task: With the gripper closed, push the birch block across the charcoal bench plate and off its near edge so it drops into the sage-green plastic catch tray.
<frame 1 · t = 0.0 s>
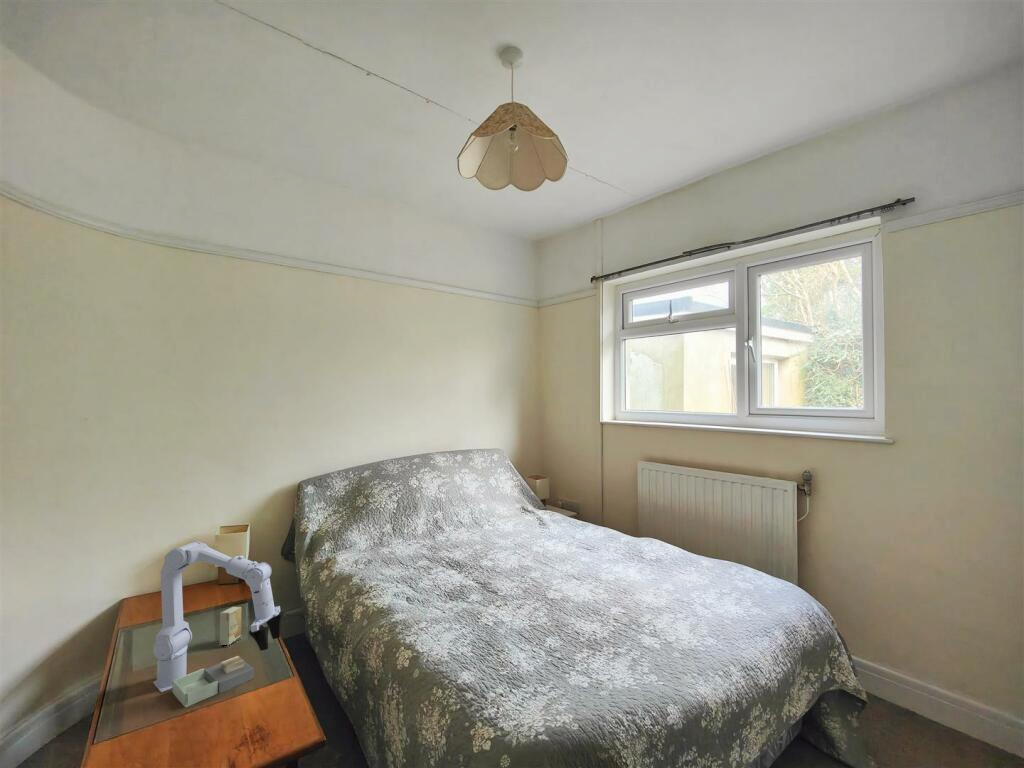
hand: (270, 643, 148), 11 cm above the table, tool pointing down, fingers open, 7 cm apart
skincare box: (230, 643, 173), on the table
catch tray: (194, 692, 140), on the table
birch block: (232, 664, 148), point 4 cm above the table, touching bench plate
bench plate: (229, 678, 147), on the table
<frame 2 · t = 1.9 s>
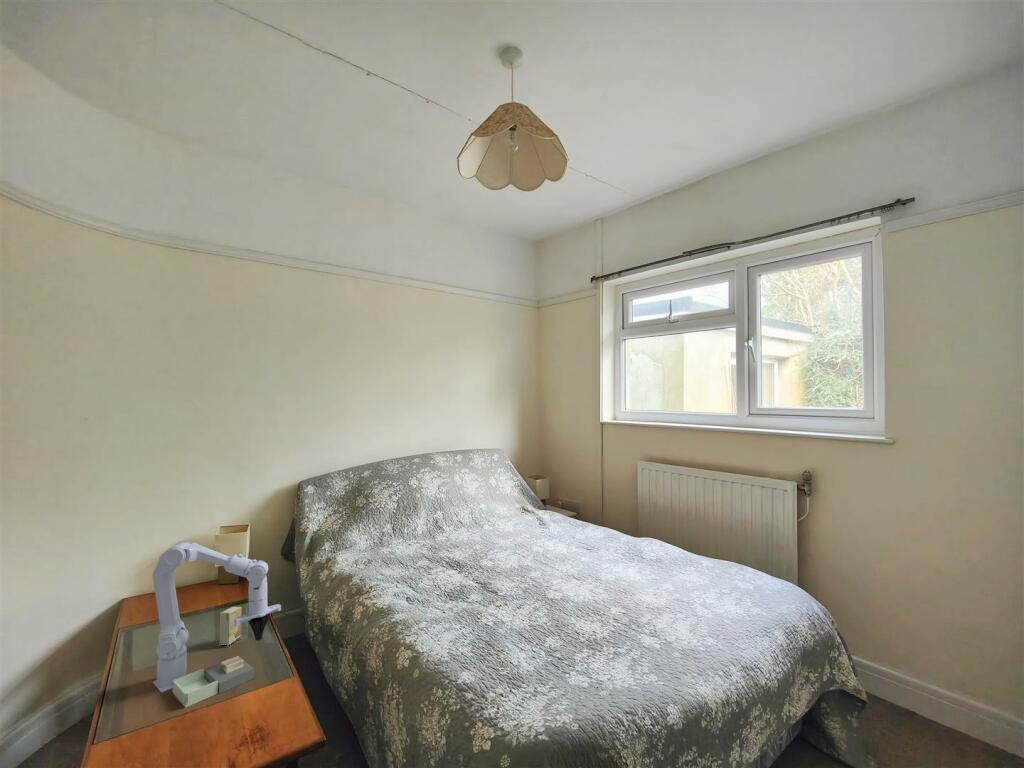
hand: (258, 639, 155), 9 cm above the table, tool pointing down, fingers closed
nothing on the table moved.
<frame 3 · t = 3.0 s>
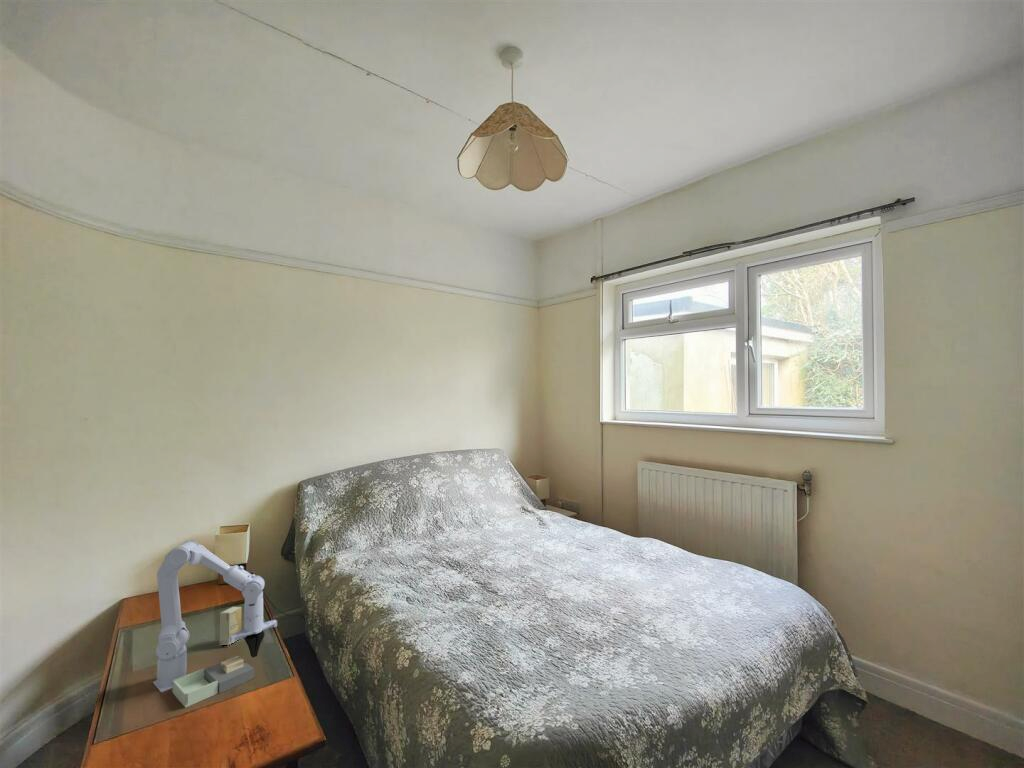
hand: (254, 655, 154), 4 cm above the table, tool pointing down, fingers closed
nothing on the table moved.
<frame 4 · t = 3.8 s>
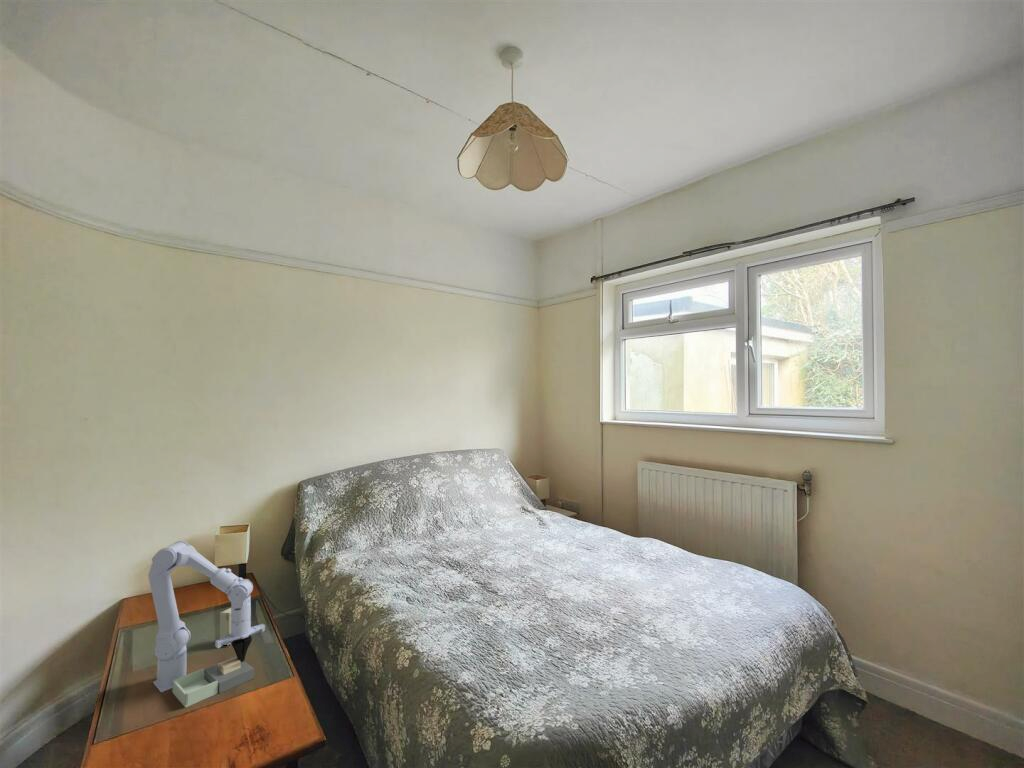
hand: (241, 661, 150), 4 cm above the table, tool pointing down, fingers closed
nothing on the table moved.
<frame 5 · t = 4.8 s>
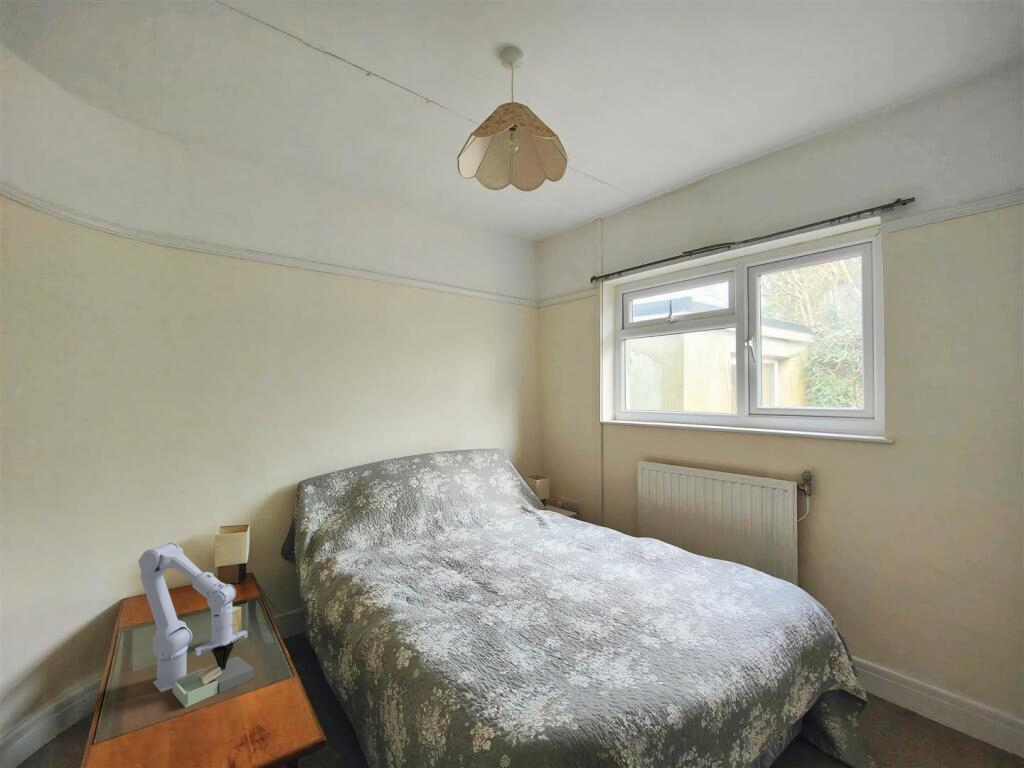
hand: (221, 668, 146), 4 cm above the table, tool pointing down, fingers closed
birch block: (209, 673, 143), point 4 cm above the table, tilted 15°, touching bench plate
everything else where it was.
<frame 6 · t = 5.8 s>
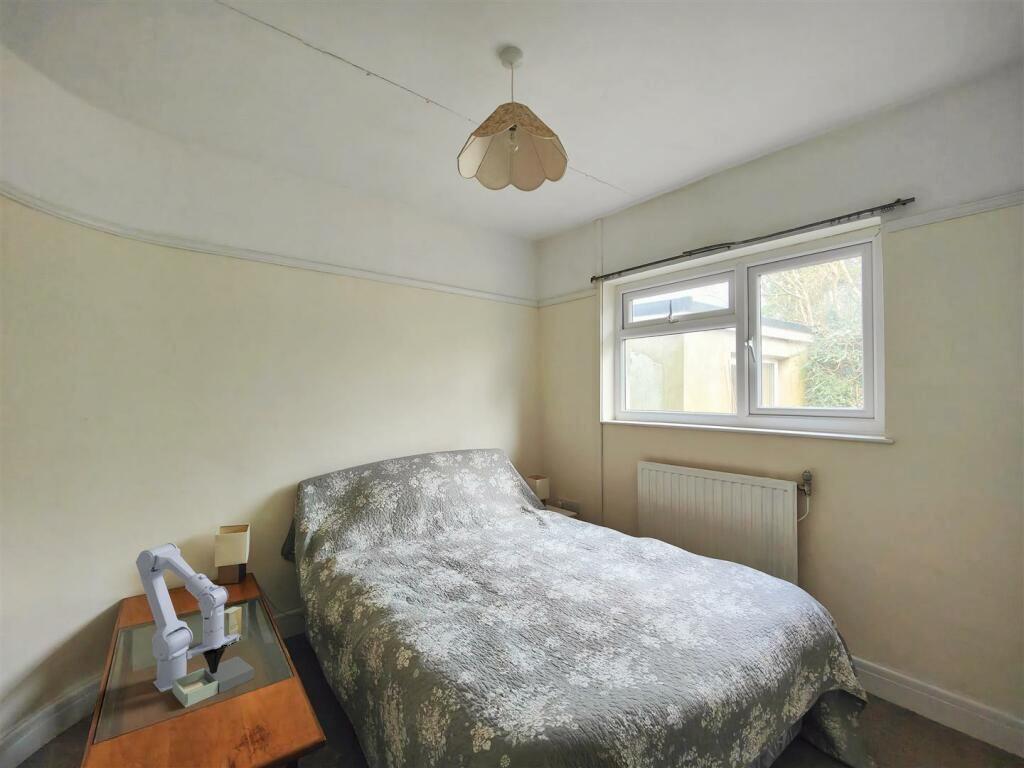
hand: (213, 672, 144), 4 cm above the table, tool pointing down, fingers closed
birch block: (191, 689, 139), point 2 cm above the table, tilted 180°, touching catch tray
everything else where it was.
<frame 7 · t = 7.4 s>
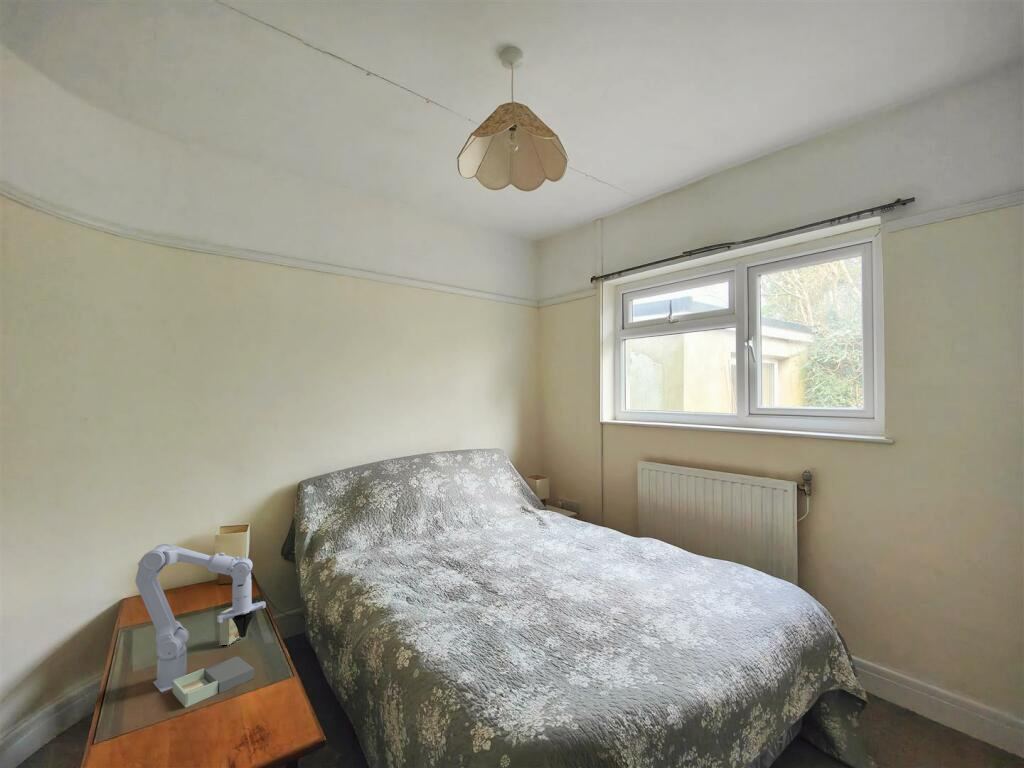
hand: (242, 636, 154), 10 cm above the table, tool pointing down, fingers closed
nothing on the table moved.
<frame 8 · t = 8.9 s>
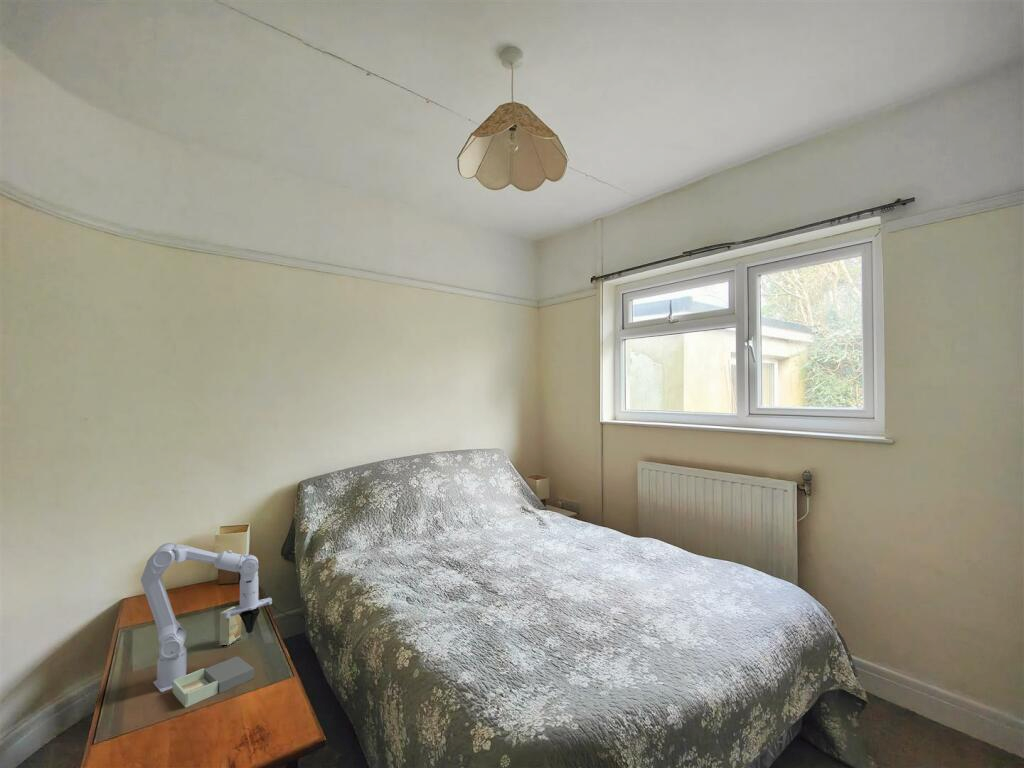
hand: (249, 631, 158), 10 cm above the table, tool pointing down, fingers closed
nothing on the table moved.
at the end: birch block inside the target area on the catch tray (1.3 cm from its centre), point 1.6 cm above the catch tray's base; birch block touching catch tray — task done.
